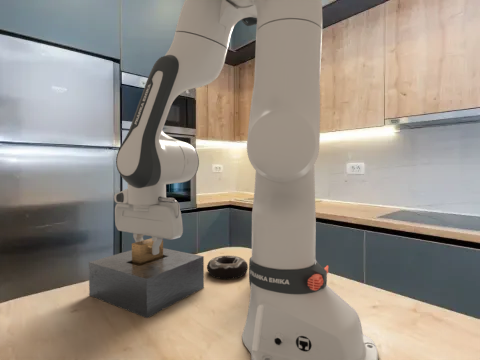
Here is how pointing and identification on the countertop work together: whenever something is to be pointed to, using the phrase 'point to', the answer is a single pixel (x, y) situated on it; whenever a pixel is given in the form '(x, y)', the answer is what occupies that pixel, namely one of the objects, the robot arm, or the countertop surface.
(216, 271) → the donut
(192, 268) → the post box
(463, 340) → the countertop surface
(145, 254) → the brown wooden block
